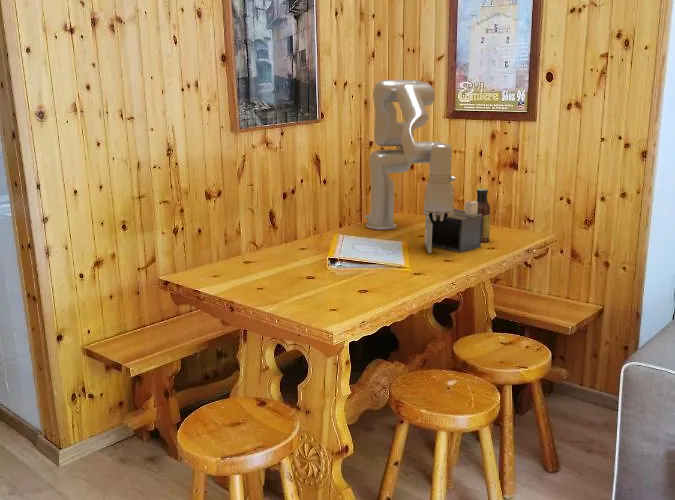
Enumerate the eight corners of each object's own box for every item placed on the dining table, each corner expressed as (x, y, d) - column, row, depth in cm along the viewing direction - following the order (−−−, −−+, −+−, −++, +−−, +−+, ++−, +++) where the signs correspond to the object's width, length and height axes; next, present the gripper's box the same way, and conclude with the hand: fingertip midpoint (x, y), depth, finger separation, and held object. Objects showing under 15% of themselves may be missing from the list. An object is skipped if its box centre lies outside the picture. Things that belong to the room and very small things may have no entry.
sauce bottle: (488, 239, 275) (491, 188, 269) (490, 243, 269) (493, 191, 263) (471, 238, 275) (474, 187, 270) (472, 242, 269) (475, 190, 264)
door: (421, 243, 265) (422, 215, 263) (427, 243, 265) (428, 215, 263) (425, 253, 251) (426, 223, 248) (431, 253, 251) (432, 223, 248)
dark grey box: (426, 244, 266) (427, 211, 263) (446, 239, 274) (448, 207, 271) (460, 252, 254) (462, 218, 251) (480, 247, 262) (482, 214, 259)
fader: (464, 214, 259) (465, 200, 258) (470, 212, 262) (471, 199, 260) (471, 215, 257) (472, 201, 256) (477, 214, 259) (478, 200, 258)
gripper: (462, 178, 250) (459, 230, 254) (419, 177, 253) (417, 228, 257) (461, 181, 242) (458, 234, 247) (417, 180, 245) (415, 232, 250)
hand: (437, 231), depth 252 cm, fingers closed
